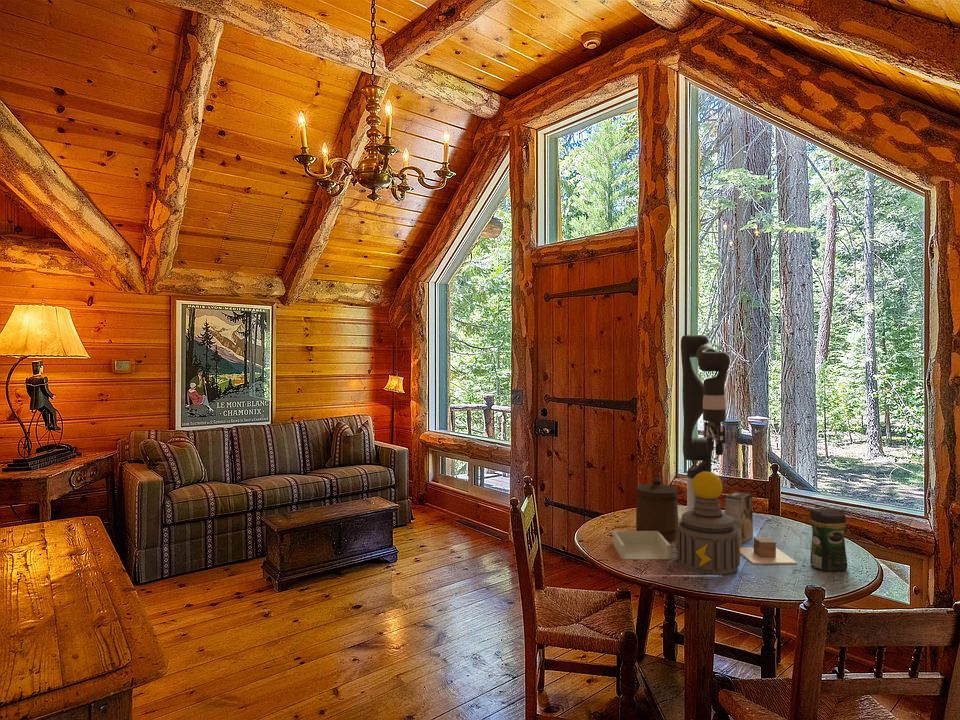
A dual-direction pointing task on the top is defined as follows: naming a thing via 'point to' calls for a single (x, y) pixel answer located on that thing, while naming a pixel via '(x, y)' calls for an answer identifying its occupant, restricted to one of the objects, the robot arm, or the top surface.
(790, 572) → the top surface
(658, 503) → the wooden container
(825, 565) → the coffee jar
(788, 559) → the mat
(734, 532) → the decorative lamp
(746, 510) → the coffee box
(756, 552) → the walnut block
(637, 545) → the open box
